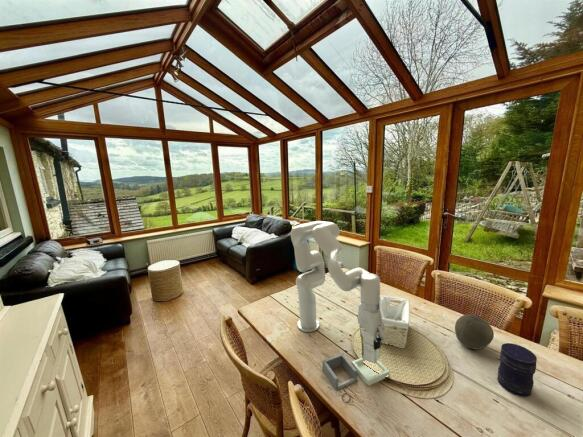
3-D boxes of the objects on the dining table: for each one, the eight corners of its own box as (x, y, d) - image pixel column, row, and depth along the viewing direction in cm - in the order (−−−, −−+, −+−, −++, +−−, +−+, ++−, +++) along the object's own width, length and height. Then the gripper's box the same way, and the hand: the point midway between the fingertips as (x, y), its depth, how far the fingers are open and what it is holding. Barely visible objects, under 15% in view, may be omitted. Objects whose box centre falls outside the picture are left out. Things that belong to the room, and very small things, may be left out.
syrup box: (367, 351, 104) (365, 320, 102) (380, 356, 100) (379, 324, 98) (361, 358, 99) (360, 326, 98) (375, 364, 95) (373, 331, 94)
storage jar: (495, 386, 91) (499, 353, 88) (498, 370, 98) (502, 339, 95) (531, 403, 84) (537, 367, 81) (532, 385, 91) (537, 351, 88)
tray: (351, 366, 105) (351, 361, 104) (371, 358, 108) (371, 353, 108) (368, 386, 94) (368, 381, 94) (389, 376, 98) (389, 371, 98)
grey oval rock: (475, 360, 104) (478, 330, 101) (446, 339, 117) (448, 312, 114) (498, 352, 107) (502, 323, 104) (468, 332, 121) (471, 306, 118)
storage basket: (378, 316, 139) (379, 293, 136) (409, 323, 131) (410, 298, 129) (372, 342, 118) (372, 316, 115) (408, 352, 111) (409, 324, 108)
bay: (322, 370, 103) (322, 360, 102) (342, 362, 107) (342, 352, 106) (335, 390, 94) (335, 379, 93) (357, 380, 97) (357, 370, 96)
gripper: (349, 296, 102) (350, 332, 105) (378, 317, 86) (377, 359, 89) (363, 292, 105) (363, 327, 108) (393, 312, 89) (393, 353, 92)
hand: (370, 341), depth 99 cm, fingers closed on syrup box, 7 cm apart
